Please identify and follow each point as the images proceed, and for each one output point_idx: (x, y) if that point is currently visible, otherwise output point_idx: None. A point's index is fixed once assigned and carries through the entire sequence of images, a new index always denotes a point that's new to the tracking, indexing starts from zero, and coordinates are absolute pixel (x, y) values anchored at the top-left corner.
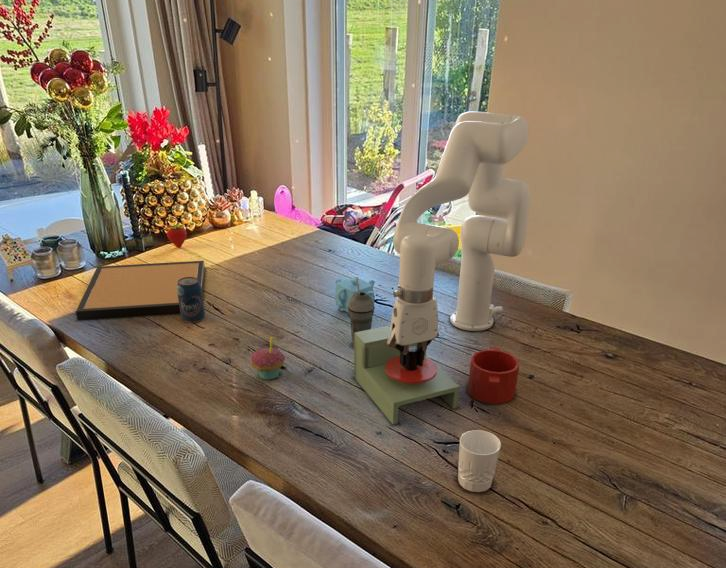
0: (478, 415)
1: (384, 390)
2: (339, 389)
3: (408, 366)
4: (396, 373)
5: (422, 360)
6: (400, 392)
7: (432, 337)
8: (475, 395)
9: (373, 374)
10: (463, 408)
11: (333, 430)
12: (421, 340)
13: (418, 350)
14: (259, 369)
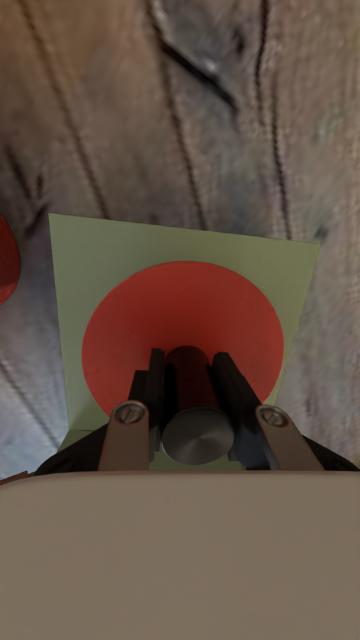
0: (45, 156)
1: (295, 321)
2: (280, 408)
3: (223, 357)
4: (259, 355)
5: (152, 361)
6: (263, 288)
7: (19, 509)
8: (6, 237)
9: (264, 403)
10: (71, 214)
11: None
12: (217, 494)
13: (167, 415)
14: None
